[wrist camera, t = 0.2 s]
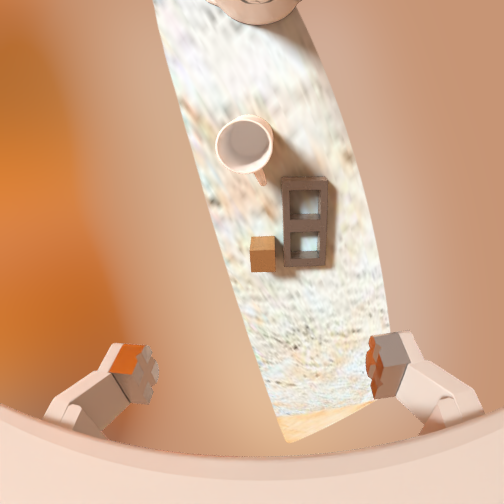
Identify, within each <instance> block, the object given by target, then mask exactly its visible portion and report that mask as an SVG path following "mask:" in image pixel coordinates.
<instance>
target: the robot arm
mask: <svg viewBox="0 0 504 504" xmlns="http://www.w3.org/2000/svg"><path fill="white" fill-rule="evenodd" d="M206 1H207V2H209V3H211V4H214V5H216V6H218V7H220V8H221V9H222V10H223V11H224V12H225V13H226V14H227V15H228V16H230V17H231V18H233V19H235V20H237V21H239V22H242V23H246V24H253V25H262V24H269V23H273V22H276V21H279V20H281V19H283V18H284V17H286V16H287V15H288V14H290V13H291V12H292V11H293V9H294V8H295V7H296V5H297V4H298V3H299V2H300V1H302V0H206ZM369 347H370V350H369V351H368V352H367V354H366V371H367V375H368V377H369V378H371V379H372V381H371V385H370V386H371V390H372V393H373V397H374V399H380V398H388V397H394V396H396V398H397V399H398V400H399V401H400V402H401V403H402V404H404V406H405V407H406V408H407V409H408V410H410V411H411V412H412V413H413V414H414V415H415V416H416V417H417V418H418V419H419V420H420V421H421V422H422V423H423V424H424V427H423V428H422V430H421V432H420V433H419V435H418V436H417V437H413V438H409V439H405V440H401V441H397V442H392V443H387V444H383V445H377V446H372V447H367V448H360V449H354V450H347V451H340V452H331V453H323V454H310V455H297V456H275V457H238V456H215V455H201V454H189V453H181V452H173V451H165V450H158V449H151V448H146V447H140V446H135V445H130V444H124V443H120V442H115V441H111V440H108V438H107V437H106V436H105V435H104V434H103V433H102V432H101V431H102V430H103V429H104V428H106V427H107V426H108V425H109V424H110V423H111V422H112V421H113V420H114V419H115V418H116V417H117V416H118V415H119V414H120V413H121V412H122V411H123V410H124V409H125V408H126V407H127V406H128V405H129V404H130V403H137V404H147V405H148V404H149V403H150V400H151V397H152V394H153V390H152V388H151V387H152V386H153V385H155V384H156V383H157V380H158V375H159V369H158V364H157V362H156V360H155V359H153V358H152V357H151V354H152V351H151V349H150V347H149V346H147V345H137V344H122V343H121V344H120V343H114V344H112V345H111V347H110V348H109V351H108V353H107V354H106V356H105V358H104V360H103V361H102V363H101V365H100V367H99V369H98V371H93V372H92V373H90V374H89V375H87V376H86V377H84V378H83V379H81V380H80V381H78V382H77V383H76V384H74V385H73V386H71V387H70V388H68V389H67V390H65V391H64V392H62V393H61V394H59V395H58V396H56V397H55V398H54V399H53V400H52V402H51V404H50V406H49V408H48V409H47V412H46V413H45V415H44V417H43V419H42V420H40V419H37V418H35V417H32V416H29V415H27V414H24V413H22V412H19V411H17V410H15V409H12V408H10V407H8V406H6V405H3V404H1V403H0V504H504V407H501V408H499V409H497V410H494V411H492V412H490V413H487V414H485V413H484V411H483V408H482V406H481V404H480V402H479V400H478V397H477V395H476V394H475V391H474V389H473V388H471V387H470V386H468V385H466V384H465V383H463V382H462V381H460V380H459V379H457V378H456V377H454V376H453V375H451V374H449V373H448V372H446V371H445V370H443V369H442V368H440V367H439V366H437V365H436V364H434V363H432V362H431V361H429V360H424V357H423V355H422V353H421V351H420V349H419V347H418V345H417V343H416V341H415V339H414V337H413V335H412V333H411V331H410V330H405V331H399V332H393V333H386V334H380V335H373V336H371V337H370V339H369Z"/></svg>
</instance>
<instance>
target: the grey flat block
mask: <svg viewBox="0 0 504 504" xmlns="http://www.w3.org/2000/svg"><path fill="white" fill-rule="evenodd" d="M289 190H318V214H290V196H289ZM327 196H328V180H327V179H326V177H325V176H317V177H282V205H283V242H284V267H294V266H322V265H325V254H326V232H327ZM315 231H318V242H317V251H299V252H290V232H315Z"/></svg>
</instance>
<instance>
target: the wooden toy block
mask: <svg viewBox="0 0 504 504" xmlns="http://www.w3.org/2000/svg"><path fill="white" fill-rule="evenodd" d="M250 261H251V272H276V269H275V238H274V236H263V237H251V245H250Z"/></svg>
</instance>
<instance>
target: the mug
mask: <svg viewBox="0 0 504 504" xmlns="http://www.w3.org/2000/svg"><path fill="white" fill-rule="evenodd" d="M215 147H216V153H217V156H218V159H219V160H220V162H221V163H222V164H223V165H224V166H225V167H226V168H227V169H229V170H230V171H232V172H235V173H239V174H249V173H254V174H255V176H256V178H257V180H258V182H259V183H260V185H261V186H265V185H266V184H267V181H266V177H265V174H264V171H263V167H264V166H265V165H266V164H267V162H268V161H269V159H270V157H271V154H272V150H273V132H272V129H271V127H270V125H269V124H268V123H267V122H266V121H265V120H264V119H262V118H261V117H258V116H255V115H243V116H240V117H238V118H236V119H234V120H233V121H231V122H229V123H228V124H226V125H225V126H224V127H223V128H222V129H221V131H220V132H219V134H218V136H217V139H216V146H215Z"/></svg>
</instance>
